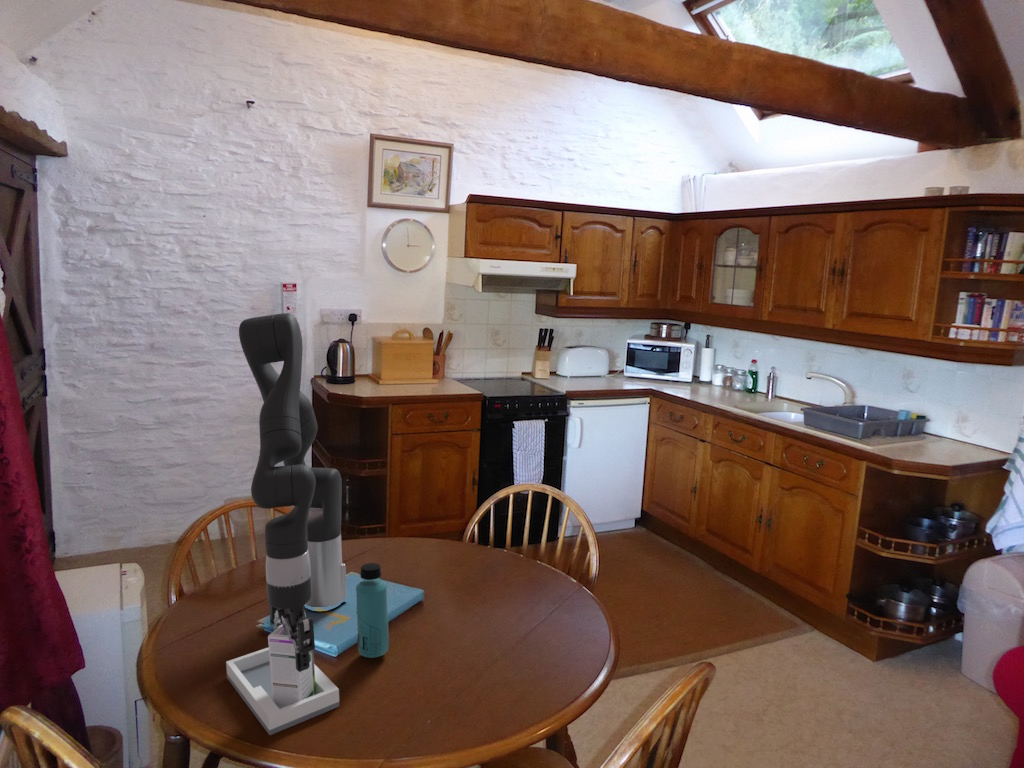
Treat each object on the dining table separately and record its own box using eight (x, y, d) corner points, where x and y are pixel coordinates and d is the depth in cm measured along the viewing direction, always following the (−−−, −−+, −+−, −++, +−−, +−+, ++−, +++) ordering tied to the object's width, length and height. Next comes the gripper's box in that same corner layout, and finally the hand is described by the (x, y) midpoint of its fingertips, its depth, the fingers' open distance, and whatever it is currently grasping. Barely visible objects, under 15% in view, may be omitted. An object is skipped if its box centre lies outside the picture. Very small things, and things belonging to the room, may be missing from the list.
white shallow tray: (291, 655, 148) (290, 639, 147) (339, 706, 131) (338, 688, 130) (227, 678, 140) (226, 661, 139) (269, 735, 123) (268, 717, 122)
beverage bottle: (395, 651, 150) (393, 561, 146) (379, 668, 143) (377, 574, 140) (367, 645, 152) (365, 556, 148) (351, 662, 145) (348, 569, 142)
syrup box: (301, 713, 127) (298, 638, 125) (271, 708, 128) (267, 634, 126) (316, 694, 133) (313, 622, 130) (287, 690, 134) (283, 618, 131)
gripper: (326, 583, 123) (329, 669, 126) (292, 556, 134) (296, 636, 137) (284, 596, 119) (288, 685, 122) (252, 567, 129) (257, 649, 132)
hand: (293, 658), depth 129 cm, fingers open, 8 cm apart
